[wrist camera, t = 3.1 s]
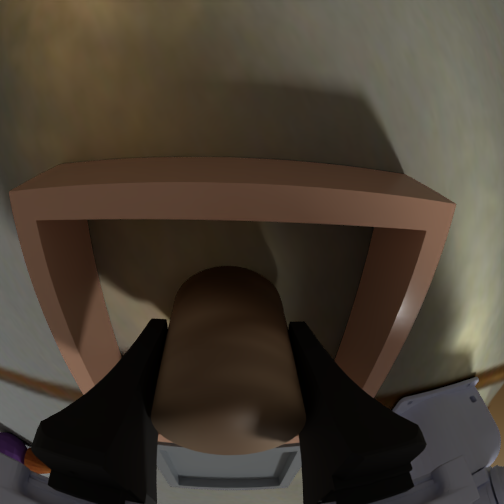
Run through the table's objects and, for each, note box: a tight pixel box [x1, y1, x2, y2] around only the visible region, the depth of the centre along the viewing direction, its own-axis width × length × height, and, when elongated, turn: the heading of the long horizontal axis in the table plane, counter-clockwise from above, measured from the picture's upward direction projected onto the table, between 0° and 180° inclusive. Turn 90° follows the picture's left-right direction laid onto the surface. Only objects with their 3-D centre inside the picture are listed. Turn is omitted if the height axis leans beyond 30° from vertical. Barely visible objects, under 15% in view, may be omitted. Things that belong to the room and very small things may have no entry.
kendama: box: [0, 432, 51, 474], centre depth 23 cm, size 6×6×20 cm
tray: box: [157, 441, 302, 490], centre depth 21 cm, size 12×12×2 cm
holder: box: [9, 157, 456, 444], centre depth 12 cm, size 14×14×4 cm
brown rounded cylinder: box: [151, 266, 306, 455], centre depth 11 cm, size 5×5×6 cm
